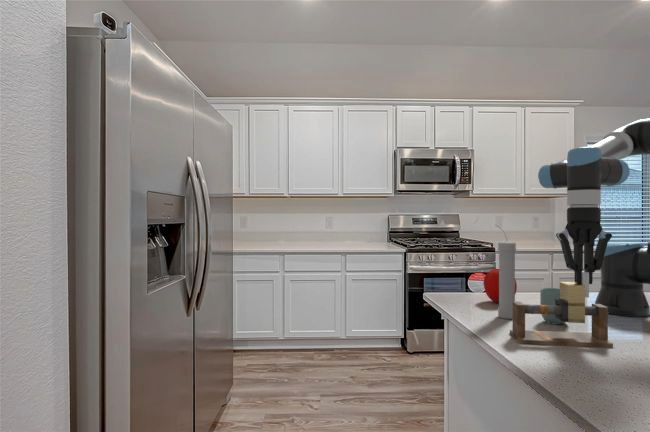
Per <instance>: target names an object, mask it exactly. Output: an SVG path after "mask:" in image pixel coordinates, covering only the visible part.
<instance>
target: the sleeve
mask: <svg viewBox="0 0 650 432" xmlns="http://www.w3.org/2000/svg"><path fill="white" fill-rule="evenodd" d="M559 289H560V299H561V300H563V301H565V302H567V303H568V322H567V323H570V324H586V315H585V306H586V297H585V285H582V284H577V283H575V281H559Z"/></svg>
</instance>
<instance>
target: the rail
mask: <svg viewBox="0 0 650 432" xmlns="http://www.w3.org/2000/svg"><path fill="white" fill-rule="evenodd" d="M526 314H527V315H528V314H529V315H542V314H554V315H561V305H540V304H524V303H523V302H521V301H515V302H513V319H512V329H509V335H511V336H512V337H513V338H514V339H515V341H517V342H518V343H519V344H520V345H521V344H522V345H544V346H545V345H546V346H566V347H567V346H570V347H572V346H573V347H589V346H591V347H592V348H593V347H595V348H596V347H598V348H614V343H613V342H611V341H610V340H609V313H608V307H606V306H603V305H601V304H595V303H591V306H590V305H589V306H588V305H585V317H586V316H591V332H579V331H577V332H576V331H554V330H553V331H551V330H550V331H549V330H526Z"/></svg>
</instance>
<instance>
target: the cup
mask: <svg viewBox="0 0 650 432" xmlns="http://www.w3.org/2000/svg"><path fill="white" fill-rule="evenodd" d="M539 293H540V295H539V299H540V304H539V305H555V299H560V288H556V287H545V288H544V287H543V288H540V292H539ZM541 316H542V318H543V320H544V321H545V322H546V323H549V324H553V325H562V324H566V323H567V322H562V321H561V320H559V319H558V318H556V317H555V315H554V314H541Z"/></svg>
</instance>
